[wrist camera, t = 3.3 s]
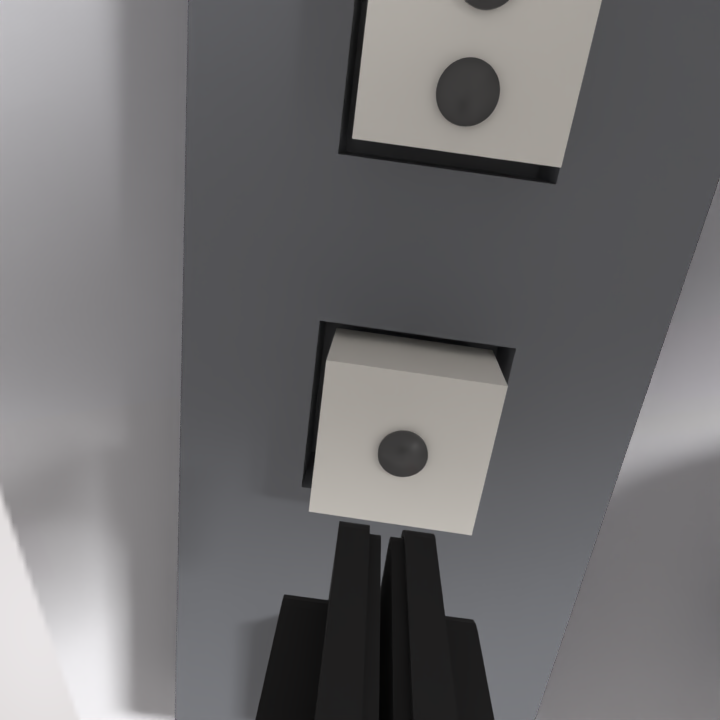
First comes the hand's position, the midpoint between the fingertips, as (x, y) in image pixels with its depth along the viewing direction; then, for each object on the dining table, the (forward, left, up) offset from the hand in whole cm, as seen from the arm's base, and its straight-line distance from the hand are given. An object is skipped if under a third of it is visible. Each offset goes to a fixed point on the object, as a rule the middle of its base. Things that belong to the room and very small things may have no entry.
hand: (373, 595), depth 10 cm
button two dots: (-9, 0, -7) cm, 12 cm away
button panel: (0, 0, -9) cm, 9 cm away
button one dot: (0, 0, -7) cm, 7 cm away
